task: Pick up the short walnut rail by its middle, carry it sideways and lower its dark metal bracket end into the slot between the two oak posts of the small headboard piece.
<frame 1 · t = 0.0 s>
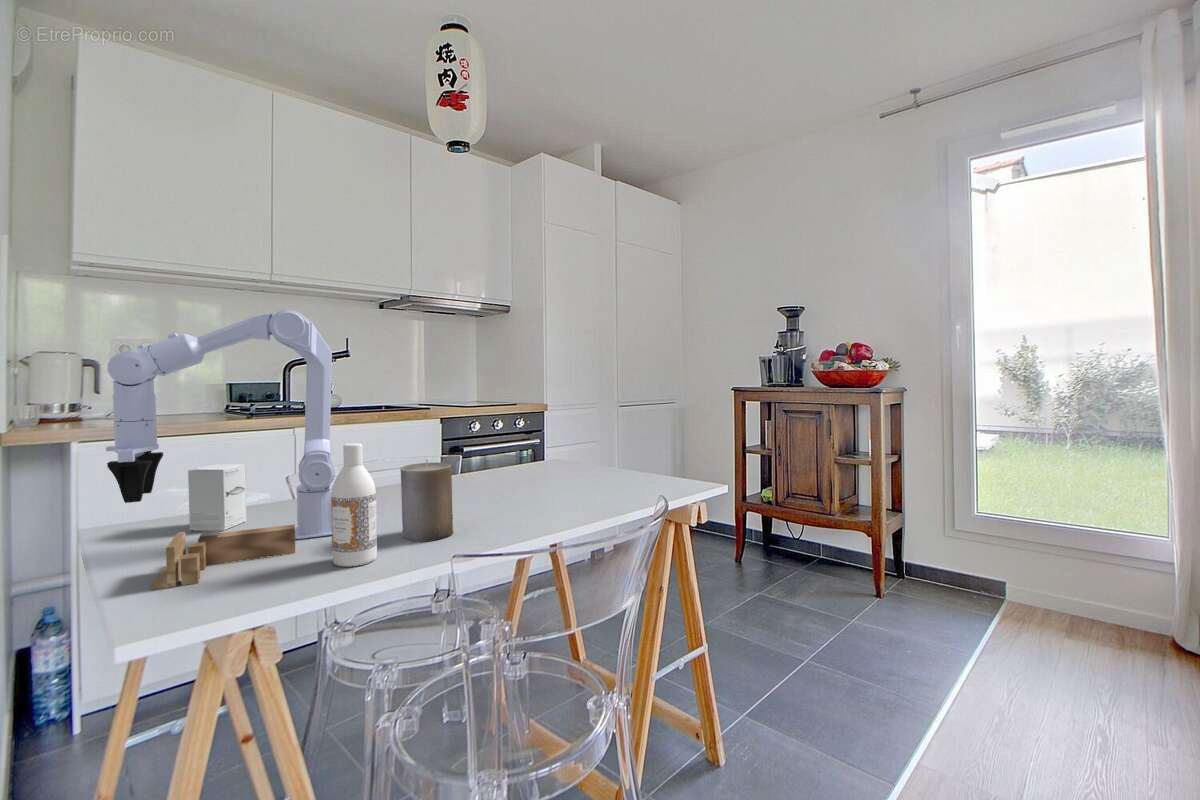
hand: (138, 497, 98), 10 cm above the table, tool pointing down, fingers open, 7 cm apart
supplement box: (219, 527, 116), on the table
pillar candle: (427, 535, 110), on the table
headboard: (194, 574, 88), on the table
bath foam: (355, 562, 95), on the table
rail: (249, 557, 97), on the table, touching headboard
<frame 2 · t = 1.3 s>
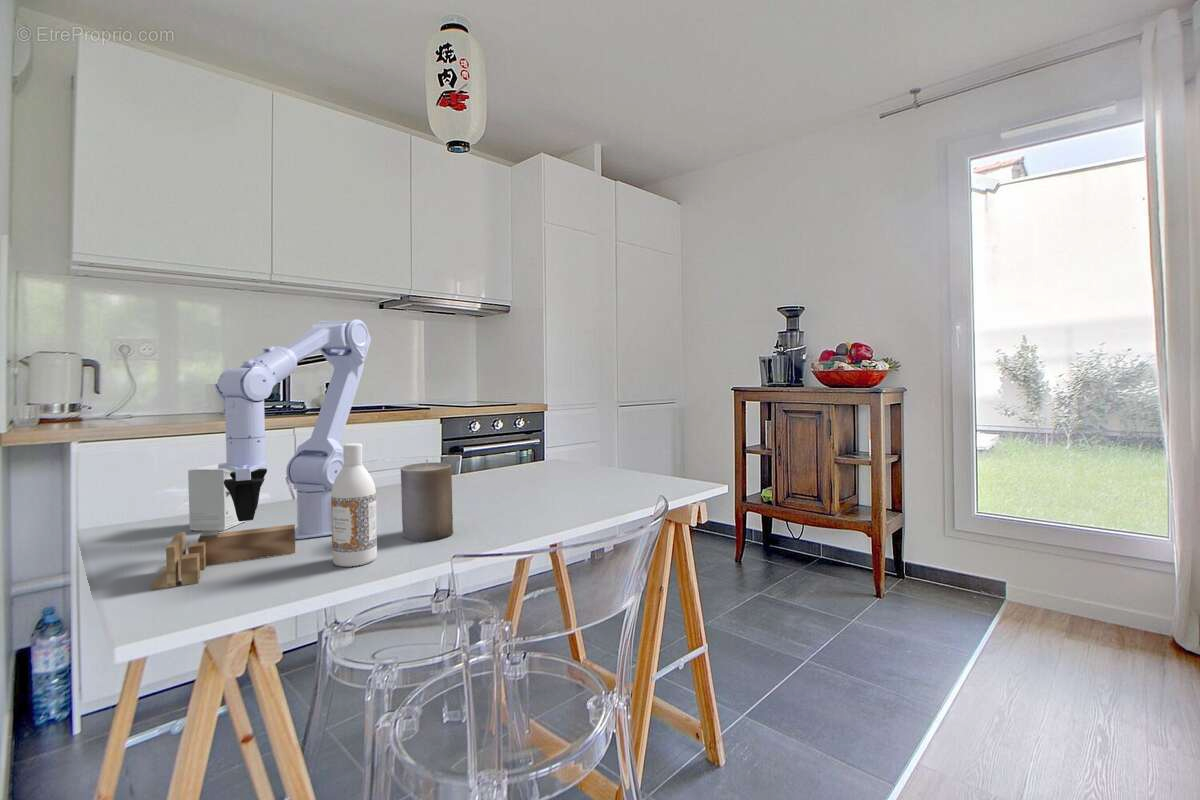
hand: (247, 515, 96), 7 cm above the table, tool pointing down, fingers open, 7 cm apart
rail: (249, 557, 97), on the table
everything else where it was.
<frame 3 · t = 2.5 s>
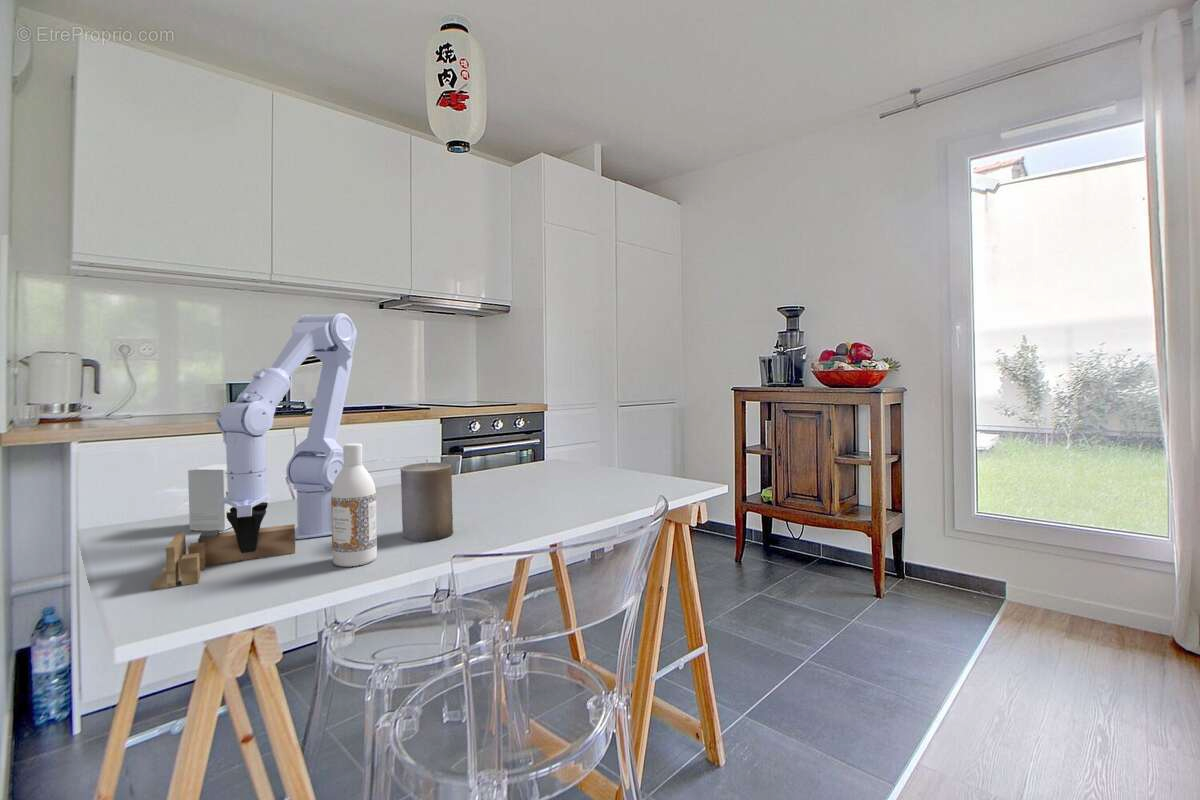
hand: (249, 548, 97), 1 cm above the table, tool pointing down, fingers closed on rail, 3 cm apart
rail: (249, 557, 97), on the table, touching gripper
everything else where it was.
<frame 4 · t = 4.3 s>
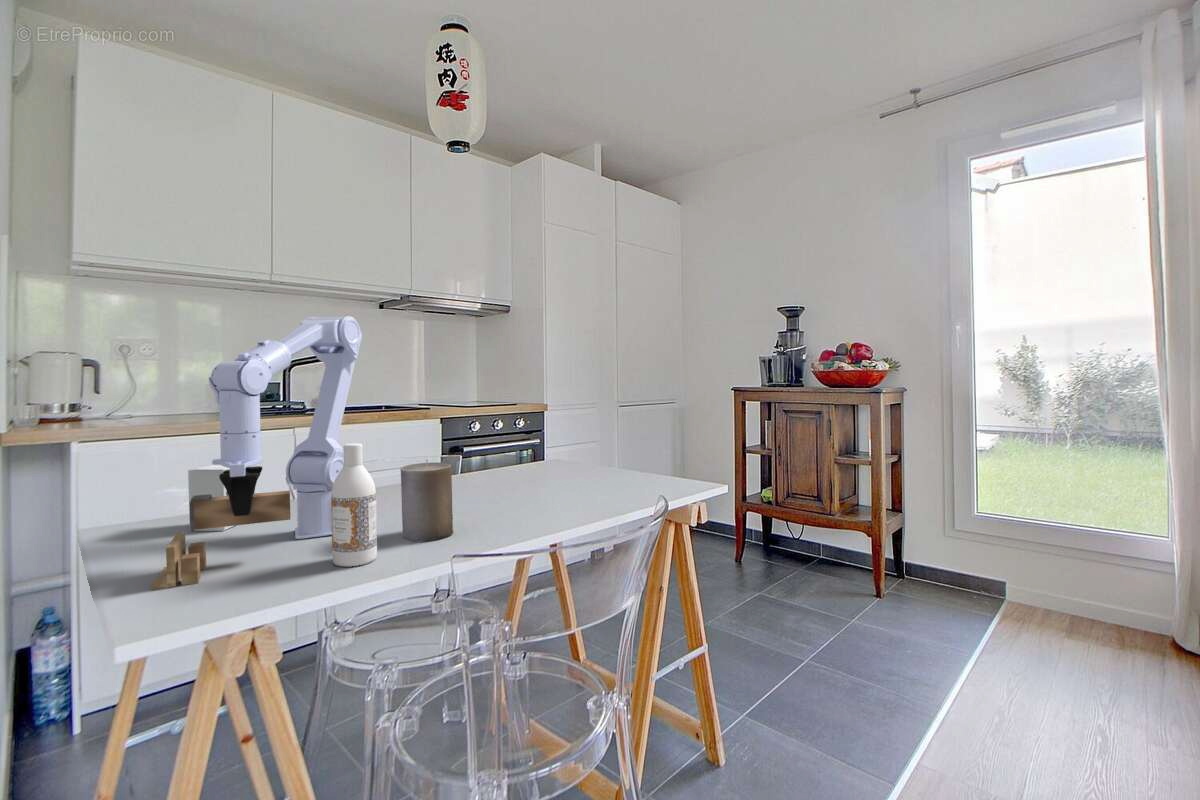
hand: (242, 512, 94), 8 cm above the table, tool pointing down, fingers closed on rail, 3 cm apart
rail: (242, 522, 94), point 7 cm above the table, touching gripper
everything else where it was.
when the fingers open (3 cm above the table, at t = 6.4 s): rail stays where it is, on the table.
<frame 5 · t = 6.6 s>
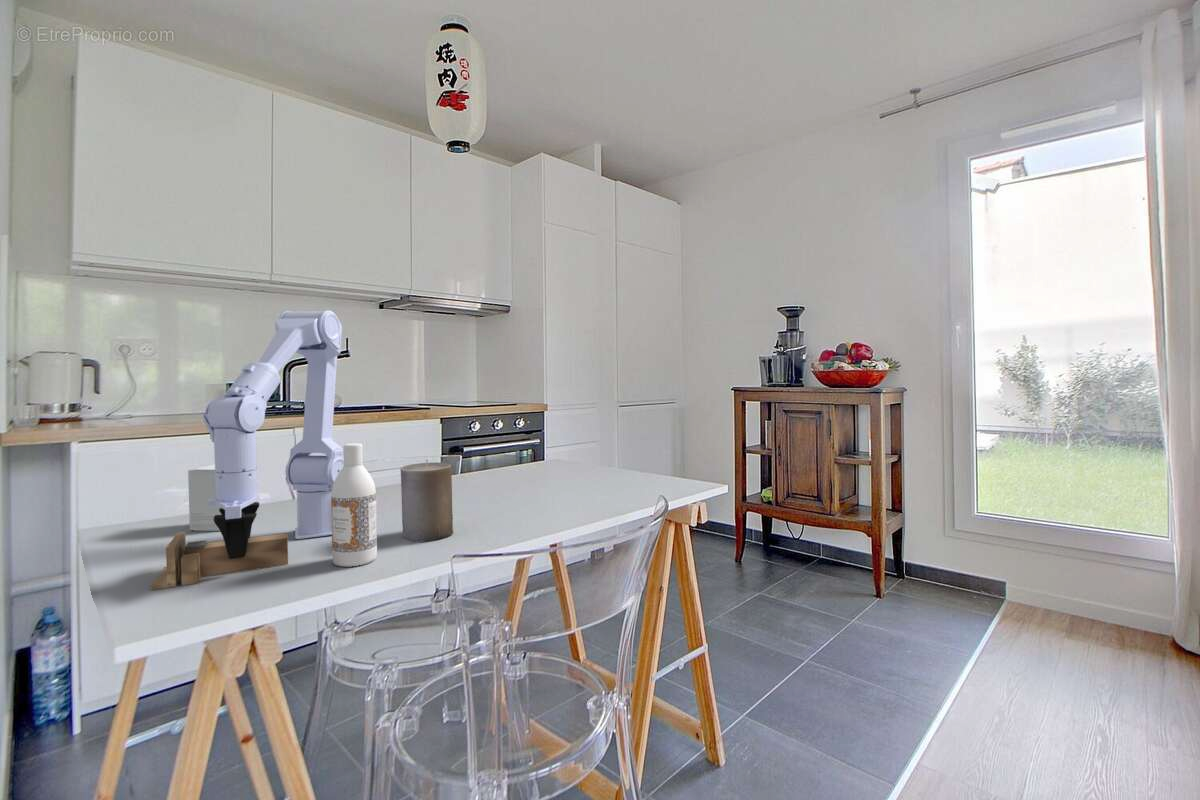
hand: (239, 552, 91), 3 cm above the table, tool pointing down, fingers open, 5 cm apart
rail: (239, 568, 91), on the table
everything else where it was.
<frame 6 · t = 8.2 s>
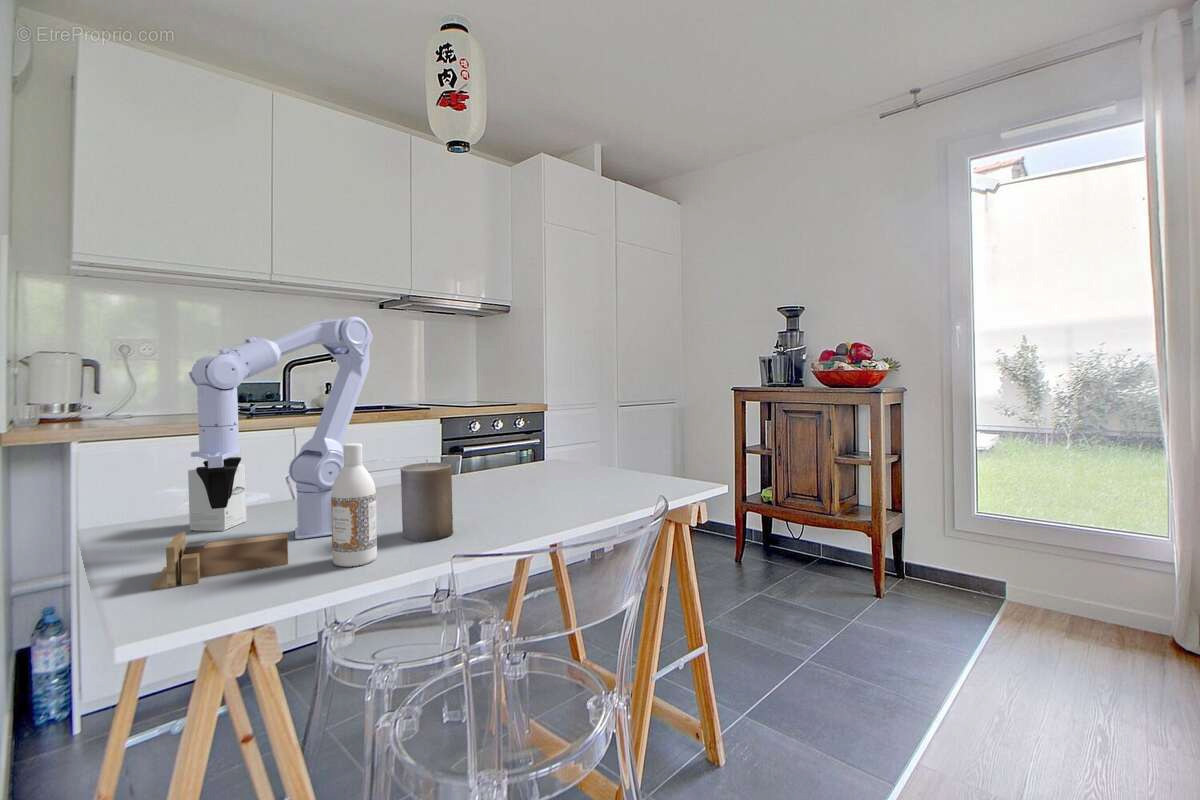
hand: (221, 503, 97), 9 cm above the table, tool pointing down, fingers open, 7 cm apart
nothing on the table moved.
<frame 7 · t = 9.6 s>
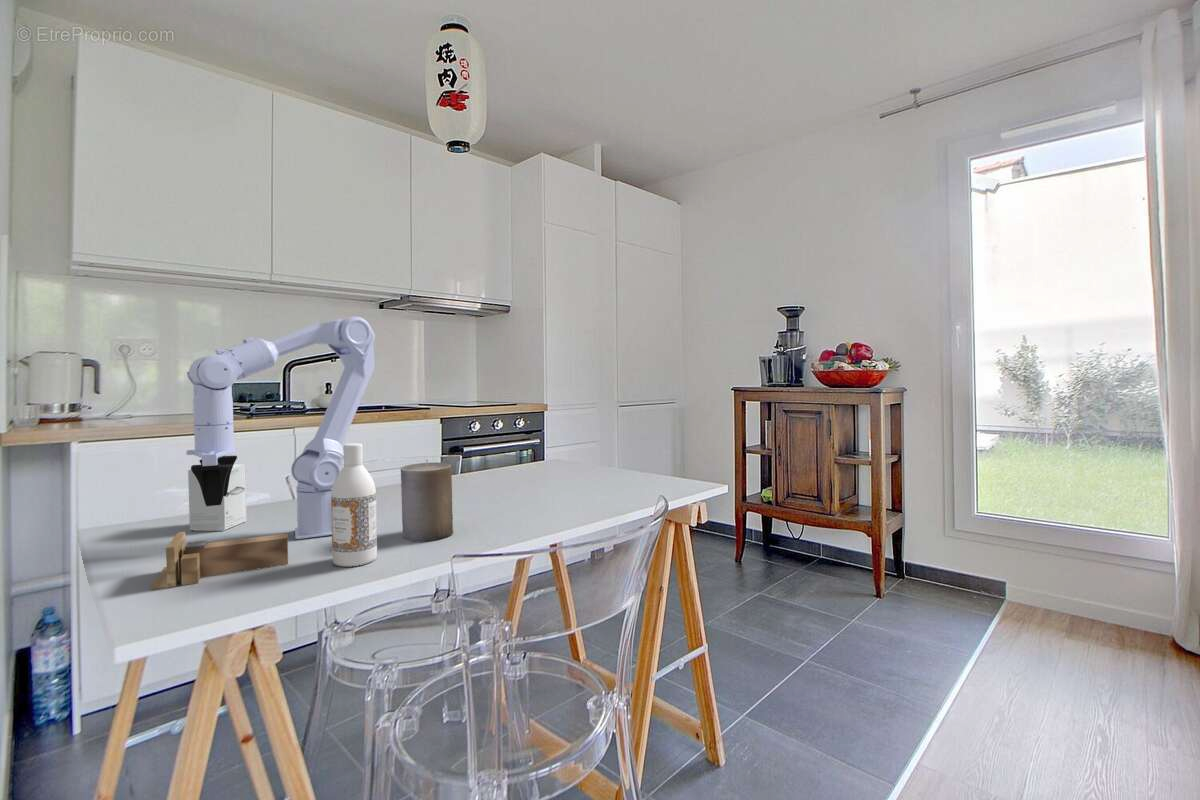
hand: (216, 500, 98), 9 cm above the table, tool pointing down, fingers open, 7 cm apart
nothing on the table moved.
at the end: rail 0.1 cm from the target spot on the table beside the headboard, on the table; rail tilted 0°; the gripper is holding nothing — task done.
